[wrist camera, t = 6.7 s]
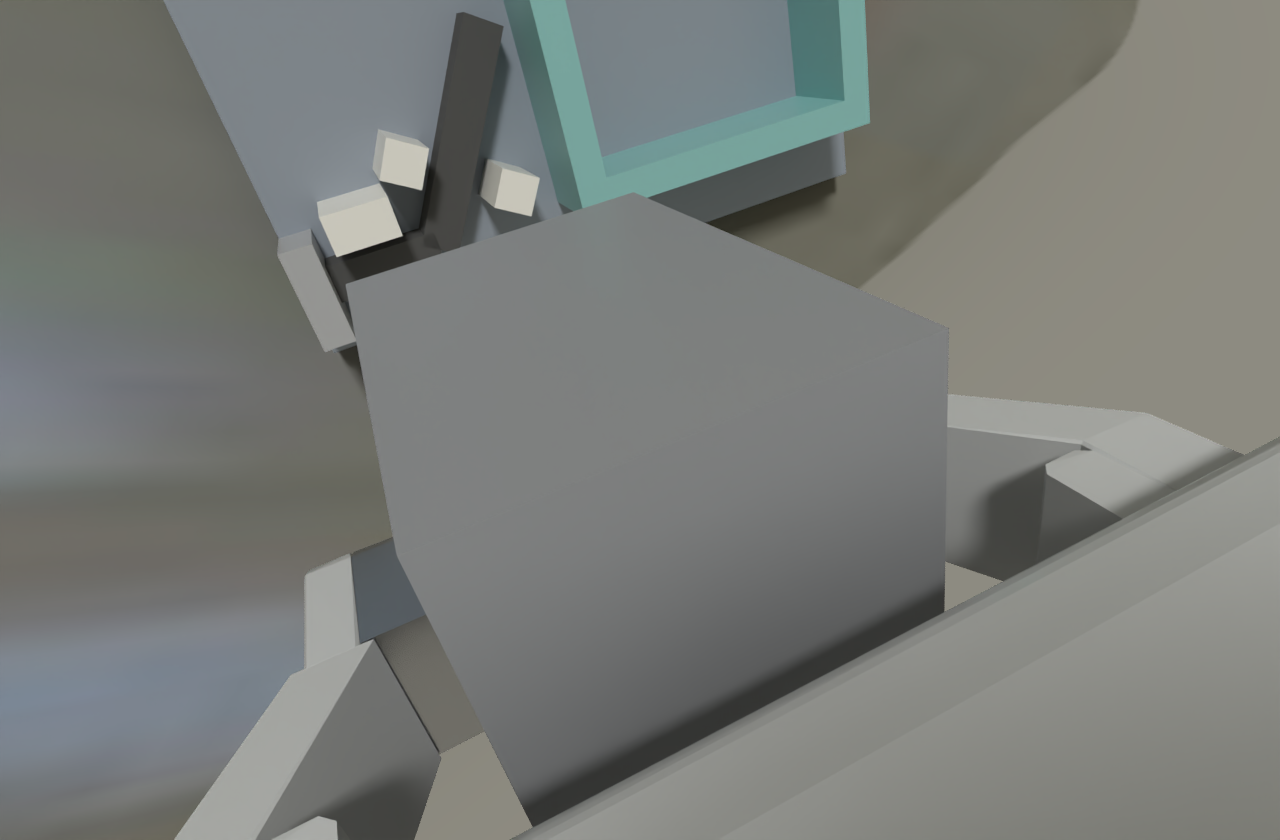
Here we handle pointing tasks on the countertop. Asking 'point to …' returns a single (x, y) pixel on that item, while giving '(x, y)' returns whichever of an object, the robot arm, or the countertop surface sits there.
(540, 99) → the end holder
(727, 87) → the board
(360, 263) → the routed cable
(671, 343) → the block
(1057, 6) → the countertop surface
